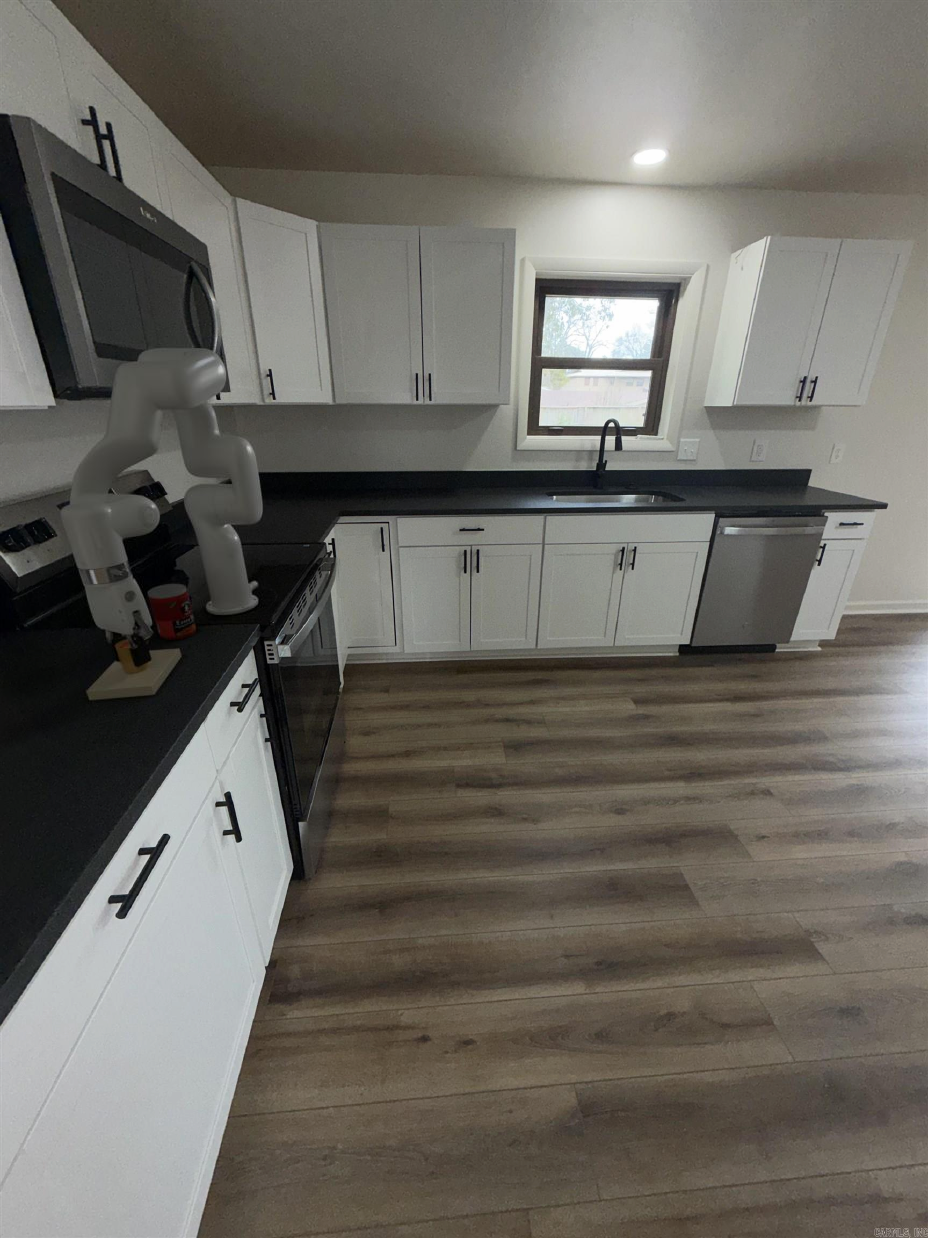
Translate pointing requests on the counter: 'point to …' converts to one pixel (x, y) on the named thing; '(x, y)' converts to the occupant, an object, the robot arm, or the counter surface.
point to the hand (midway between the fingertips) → (133, 660)
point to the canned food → (172, 611)
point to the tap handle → (127, 658)
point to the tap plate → (135, 677)
